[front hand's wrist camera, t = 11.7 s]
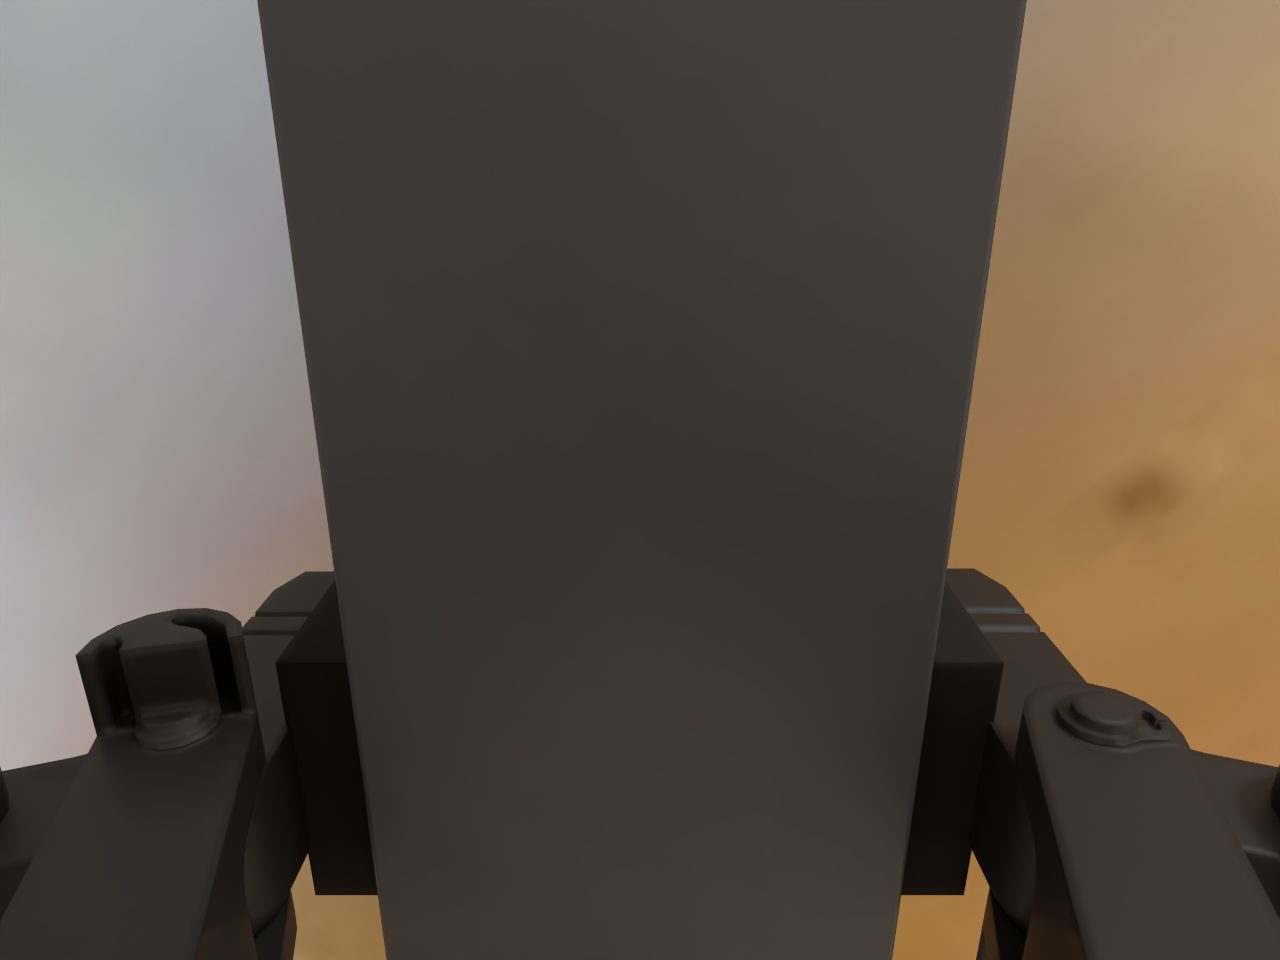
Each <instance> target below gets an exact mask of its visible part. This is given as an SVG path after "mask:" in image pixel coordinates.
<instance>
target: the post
mask: <svg viewBox="0 0 1280 960" xmlns="http://www.w3.org/2000/svg"><path fill="white" fill-rule="evenodd" d="M1026 1H1027V0H258V8H259V15H260V23H261V30H262V38H263V45H264V52H265V60H266V67H267V75H268V82H269V90H270V97H271V104H272V112H273V119H274V127H275V134H276V142H277V149H278V156H279V164H280V171H281V179H282V186H283V194H284V201H285V208H286V216H287V223H288V231H289V238H290V246H291V253H292V260H293V268H294V275H295V283H296V290H297V298H298V305H299V312H300V320H301V327H302V335H303V342H304V350H305V357H306V364H307V372H308V379H309V387H310V394H311V402H312V409H313V416H314V424H315V431H316V439H317V446H318V454H319V461H320V468H321V476H322V483H323V491H324V498H325V506H326V513H327V520H328V528H329V535H330V543H331V550H332V558H333V565H334V572H335V580H336V587H337V595H338V602H339V610H340V617H341V624H342V632H343V639H344V647H345V654H346V661H347V669H348V676H349V684H350V691H351V699H352V706H353V713H354V721H355V728H356V736H357V743H358V751H359V758H360V765H361V773H362V780H363V788H364V795H365V803H366V810H367V817H368V825H369V832H370V840H371V847H372V855H373V862H374V869H375V877H376V884H377V892H378V899H379V907H380V914H381V921H382V929H383V936H384V944H385V951H386V959H387V960H892V955H893V948H894V941H895V934H896V927H897V920H898V913H899V905H900V898H901V891H902V884H903V877H904V870H905V863H906V856H907V848H908V841H909V834H910V827H911V820H912V813H913V806H914V799H915V791H916V784H917V777H918V770H919V763H920V756H921V749H922V742H923V735H924V727H925V720H926V713H927V706H928V699H929V692H930V685H931V678H932V670H933V663H934V656H935V649H936V642H937V635H938V628H939V621H940V613H941V606H942V599H943V592H944V585H945V578H946V571H947V564H948V556H949V549H950V542H951V535H952V528H953V521H954V514H955V507H956V499H957V492H958V485H959V478H960V471H961V464H962V457H963V450H964V442H965V435H966V428H967V421H968V414H969V407H970V400H971V393H972V385H973V378H974V371H975V364H976V357H977V350H978V343H979V336H980V328H981V321H982V314H983V307H984V300H985V293H986V286H987V279H988V271H989V264H990V257H991V250H992V243H993V236H994V229H995V222H996V214H997V207H998V200H999V193H1000V186H1001V179H1002V172H1003V165H1004V158H1005V150H1006V143H1007V136H1008V129H1009V122H1010V115H1011V108H1012V101H1013V93H1014V86H1015V79H1016V72H1017V65H1018V58H1019V51H1020V44H1021V36H1022V29H1023V22H1024V15H1025V8H1026Z"/></svg>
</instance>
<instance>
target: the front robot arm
mask: <svg viewBox="0 0 1280 960" xmlns="http://www.w3.org/2000/svg"><path fill="white" fill-rule="evenodd" d="M76 659H77V663H78V667H79V670H80V674H81V678H82V681H83V685H84V689H85V693H86V696H87V700H88V704H89V708H90V711H91V715H92V719H93V722H94V726H95V730H96V734H97V737H96V739H95V741H94V743H93V745H92V747H91V749H90V751H89V752H88V754H85V755H81V756H77V757H73V758H68V759H63V760H58V761H53V762H48V763H42V764H37V765H32V766H27V767H22V768H17V769H12V770H7V771H1V768H0V960H293V954H294V947H295V939H296V932H297V924H296V917H295V909H294V904H293V899H292V893H291V887H292V885H293V883H294V881H295V879H296V877H297V875H298V873H299V871H300V868H301V866H302V864H303V862H304V860H305V858H306V856H307V854H309V860H310V866H311V872H312V877H313V883H314V889H315V895H378V892H377V884H376V877H375V869H374V862H373V855H372V847H371V840H370V832H369V825H368V817H367V810H366V803H365V795H364V788H363V780H362V773H361V765H360V758H359V751H358V743H357V736H356V728H355V721H354V713H353V706H352V699H351V691H350V684H349V676H348V669H347V661H346V654H345V647H344V639H343V632H342V624H341V617H340V610H339V602H338V595H337V587H336V580H335V572H304V573H302V574H301V575H299V576H297V577H296V578H294V579H292V580H291V581H289V582H287V583H286V584H284V585H282V586H280V587H279V588H277V589H275V590H274V591H273V592H272V593H271V594H270V596H269V597H268V598H267V599H266V600H265V602H264V603H263V604H262V605H261V606H260V607H259V609H258V610H257V611H256V612H255V617H251V618H250V619H249V621H248V622H247V623H246V624H245V625H244V627H243V628H242V625H241V622H240V621H239V620H237V619H236V618H235V617H233V616H232V615H231V614H229V613H227V612H222V611H217V610H212V609H207V608H199V609H176V610H171V611H166V612H161V613H155V614H150V615H146V616H143V617H140V618H137V619H135V620H132V621H129V622H126V623H123V624H120V625H117V626H116V627H114V628H112V629H110V630H108V631H107V632H105V633H103V634H101V635H99V636H98V637H96V638H94V639H92V640H91V641H90V642H89V643H88V644H87V645H86V646H85V647H84V648H83V649H82V650H81V651H80V652H79V653H78V654H77V655H76ZM971 851H973V853H974V855H975V857H976V859H977V861H978V863H979V865H980V867H981V869H982V872H983V874H984V876H985V878H986V880H987V882H988V884H989V886H990V888H989V893H988V899H987V904H986V909H985V915H984V920H983V925H982V931H981V936H980V941H979V947H978V952H977V957H976V960H1280V765H1279V767H1274V766H1268V765H1263V764H1258V763H1253V762H1248V761H1243V760H1237V759H1232V758H1227V757H1222V756H1217V755H1212V754H1207V753H1203V752H1199V751H1195V750H1191V749H1190V747H1189V745H1188V743H1187V741H1186V739H1185V737H1184V736H1183V734H1182V733H1181V732H1180V731H1179V729H1178V728H1177V727H1176V726H1175V725H1174V723H1173V722H1172V721H1171V720H1170V719H1169V718H1168V717H1167V716H1166V715H1164V714H1163V713H1161V712H1160V711H1158V710H1157V709H1155V708H1154V707H1152V706H1151V705H1149V704H1148V703H1146V702H1145V701H1142V700H1140V699H1137V698H1135V697H1132V696H1130V695H1128V694H1125V693H1123V692H1120V691H1118V690H1115V689H1111V688H1107V687H1102V686H1098V685H1093V684H1089V683H1087V682H1086V681H1085V680H1084V679H1083V678H1082V677H1081V675H1080V674H1079V673H1078V672H1077V671H1076V669H1075V668H1074V667H1073V666H1072V665H1071V664H1070V662H1069V661H1068V660H1067V659H1066V658H1065V656H1064V655H1063V654H1062V653H1061V652H1060V651H1059V649H1058V648H1057V647H1056V646H1055V645H1054V643H1053V642H1052V641H1051V640H1050V639H1049V638H1048V636H1047V635H1046V634H1045V633H1044V632H1040V627H1039V626H1038V625H1037V623H1036V622H1035V621H1034V620H1033V619H1032V618H1031V616H1030V615H1029V614H1025V612H1024V608H1023V607H1022V606H1021V605H1020V603H1019V602H1018V601H1017V600H1016V599H1015V598H1014V596H1013V595H1012V594H1011V593H1010V592H1009V590H1008V589H1007V588H1006V587H1004V586H1003V585H1001V584H999V583H998V582H996V581H994V580H992V579H991V578H989V577H987V576H986V575H984V574H982V573H981V572H979V571H977V570H975V569H947V571H946V578H945V585H944V592H943V599H942V606H941V613H940V621H939V628H938V635H937V642H936V649H935V656H934V663H933V670H932V678H931V685H930V692H929V699H928V706H927V713H926V720H925V727H924V735H923V742H922V749H921V756H920V763H919V770H918V777H917V784H916V791H915V799H914V806H913V813H912V820H911V827H910V834H909V841H908V848H907V856H906V863H905V870H904V877H903V884H902V891H901V895H964V891H965V885H966V879H967V874H968V868H969V862H970V856H971Z"/></svg>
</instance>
